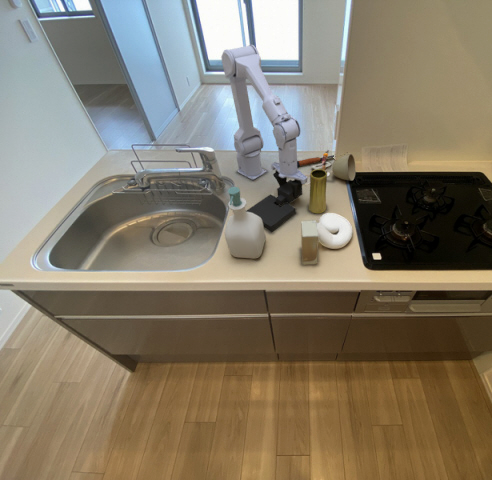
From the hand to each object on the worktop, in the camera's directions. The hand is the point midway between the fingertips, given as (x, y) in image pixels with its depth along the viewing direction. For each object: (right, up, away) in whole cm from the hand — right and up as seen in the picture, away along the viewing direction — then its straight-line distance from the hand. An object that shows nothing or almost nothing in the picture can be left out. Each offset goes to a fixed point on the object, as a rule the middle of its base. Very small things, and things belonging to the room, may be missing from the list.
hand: (289, 192), depth 99 cm
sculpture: (+14, -15, -9) cm, 23 cm away
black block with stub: (-1, -2, 0) cm, 2 cm away
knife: (+14, +17, +18) cm, 29 cm away
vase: (+10, -5, 0) cm, 11 cm away
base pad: (-6, -8, -2) cm, 10 cm away
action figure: (+13, +11, +15) cm, 23 cm away
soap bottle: (-12, -19, -13) cm, 26 cm away
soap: (+12, +13, +18) cm, 26 cm away
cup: (+17, +12, +12) cm, 24 cm away
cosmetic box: (+6, -22, -15) cm, 27 cm away
